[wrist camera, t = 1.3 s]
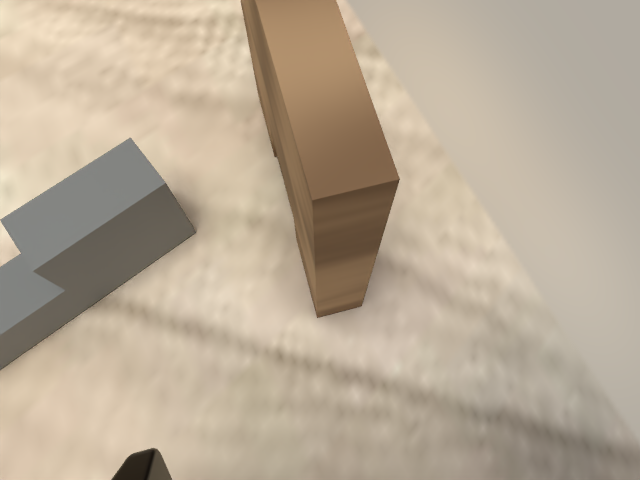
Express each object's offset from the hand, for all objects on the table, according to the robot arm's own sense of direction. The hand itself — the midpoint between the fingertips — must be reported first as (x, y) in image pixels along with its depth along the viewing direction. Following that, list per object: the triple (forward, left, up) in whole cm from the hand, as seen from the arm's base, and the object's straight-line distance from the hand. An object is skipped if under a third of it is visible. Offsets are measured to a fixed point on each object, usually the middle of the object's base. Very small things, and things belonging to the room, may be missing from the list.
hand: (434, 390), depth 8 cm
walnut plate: (+5, -9, -13) cm, 17 cm away
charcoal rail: (+15, 0, -13) cm, 20 cm away
